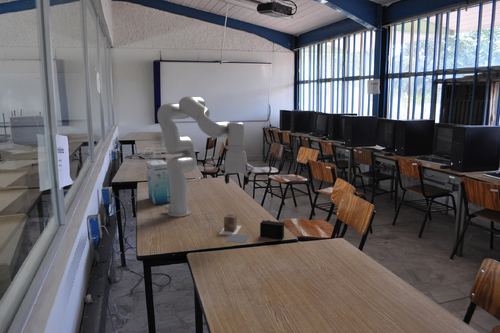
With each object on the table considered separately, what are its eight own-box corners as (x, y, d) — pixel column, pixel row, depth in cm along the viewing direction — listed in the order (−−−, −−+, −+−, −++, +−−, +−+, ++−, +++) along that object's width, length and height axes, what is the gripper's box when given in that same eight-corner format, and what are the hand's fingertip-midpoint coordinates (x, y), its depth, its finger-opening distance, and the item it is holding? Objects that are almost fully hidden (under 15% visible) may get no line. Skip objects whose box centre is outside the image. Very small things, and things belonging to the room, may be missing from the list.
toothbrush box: (148, 198, 239) (146, 160, 234) (164, 196, 243) (162, 159, 239) (154, 205, 223) (152, 165, 219) (171, 203, 228) (169, 163, 223)
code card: (218, 234, 176) (218, 233, 176) (225, 225, 189) (225, 224, 189) (235, 235, 175) (235, 235, 175) (241, 226, 187) (241, 225, 187)
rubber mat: (225, 241, 167) (225, 241, 167) (230, 234, 176) (230, 233, 176) (245, 243, 166) (245, 242, 166) (249, 235, 174) (249, 235, 174)
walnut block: (224, 231, 180) (223, 217, 178) (226, 227, 184) (226, 213, 183) (234, 231, 179) (234, 217, 177) (236, 228, 184) (236, 214, 182)
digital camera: (284, 235, 175) (285, 221, 173) (282, 240, 170) (282, 225, 168) (263, 233, 178) (263, 219, 177) (260, 237, 173) (260, 222, 172)
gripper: (216, 148, 177) (217, 184, 180) (251, 150, 171) (251, 186, 174) (222, 146, 184) (223, 181, 187) (256, 148, 178) (256, 183, 181)
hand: (236, 183), depth 181 cm, fingers open, 9 cm apart
